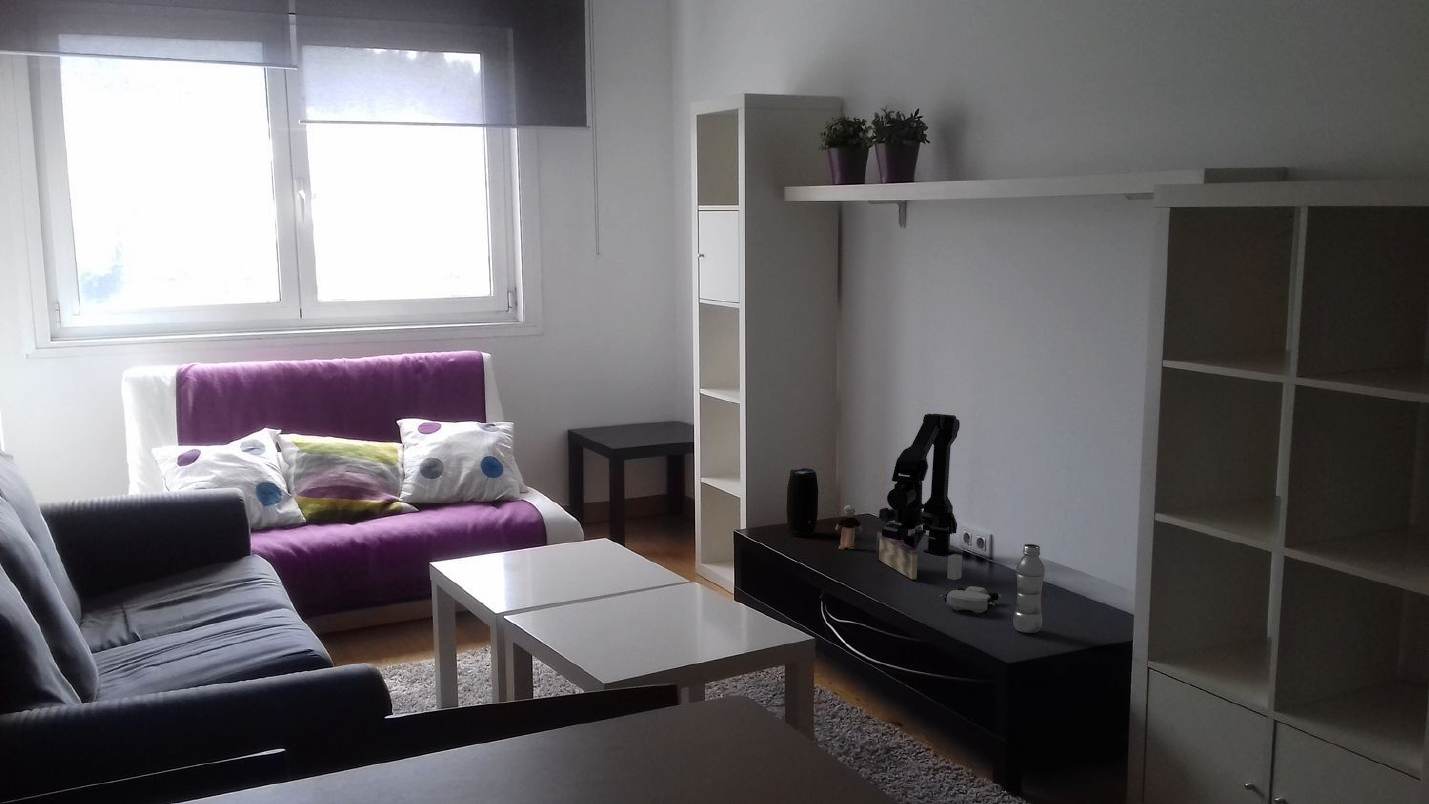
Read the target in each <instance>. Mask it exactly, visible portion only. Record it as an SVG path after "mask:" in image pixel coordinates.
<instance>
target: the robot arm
mask: <svg viewBox="0 0 1429 804" xmlns="http://www.w3.org/2000/svg"><path fill="white" fill-rule="evenodd" d="M960 425H961V424H960V419H958V418H957V415H953V414H943V413H927V414H924V416H923V418H922V423H921V425H920V428H919V430H918V432H917V433H916V436H915V438H914V439H913V441H912V443H911V445H910V446H908V447H906V448H905V449H903V450H902V451H901V453H900V455H899V457H897V458H896V461H895V465H894V469H893V473H892V478H891V482H894V485H893V487H894V488H892V489H890V491H888V494H887V496H886V502H887V504H888V505H889V507H890V508H889V507H885V508H884V507H883V508H880V509H879V512H878V518H879V520H881V522H882V521H883V523H884V524H887V523H888V522H893V521H894V523H889V524H887V525H884V526H883V527H882V528H881V531H882V536H883V537H887V538H891V539H895V540H899V541H902V542H903V543H905V544H907V545H909V546H910V547H912V548H914V549H916V550H917V548H918V547H919V544H920V542H921V541H922V539H923V537H924V535H925V534H927V531H928V536H927V537H928V538H927V548H925V549H923V550H922V551H923V552H924V551H925V552H924V553H928V552H929V554H932V553H933V555H937V556H944V555H945V556H946V555H948V554H951V552H952V553H954V552H955V549H950V546H951V535H953V534H957V529H958V522H957V519H956V517H955V515H954V512H953V511H954V509H953V508H954V507H953V504H952V503H951V500H950V499H949V497H948V496H949V493H948V492H949V477H950V463H951V446H952V445H953V443H954V442H955V440H956V439H957V437H958V432H959V431H960ZM932 446H933V450H932V451H933V452H932V453H933V454H932V467H931V468H932V469H931V470H932V471H931V486H930V487H931V488H930V497H929V498H928V500H927V501H926V502H924V503H923V482H924V481H925V478H926V476H927V473H928V469H929V463H928V458H927V457H928V455H929V452H930V450H931V448H932ZM895 482H896V483H895Z"/></svg>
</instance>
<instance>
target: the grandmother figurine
mask: <svg viewBox="0 0 1429 804" xmlns="http://www.w3.org/2000/svg"><path fill="white" fill-rule="evenodd" d="M843 512H844V515H845V516H843V517H842V518H840V519H839V521H837V524H836V525H835V526H836V527H835V528H834V529H835V530H836V531H838V530H840V527H841V526H842V528H841V534H840V535H841V536H840V545H839V546H838V549H839V550H845V549H846V548H848V549H847V550H849V549H854V550H855V547H854V545H855V537H856V535H855V533H856V532H855V530H856V529H855V527H857V528H858V531H860V532H862V531H863V527H862V523H861V521H859V520H858V519H857V518H855V517H854V515H855V514H856V510H855V508H854V507H853V506H852V505H845V506H844V508H843Z"/></svg>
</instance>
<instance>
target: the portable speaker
mask: <svg viewBox="0 0 1429 804" xmlns="http://www.w3.org/2000/svg"><path fill="white" fill-rule="evenodd" d="M787 483H788V484H787V487H786V509H785V511H786V523H787V530H788V531H787V532H788V533H789V534H790V536H791V537H796V538H797V537H798V538H802V536H804V535H809V536H810V537H813V536H815V533H816V532H815V531H816V527H817V521H818V516H819V515H818V514H819V513H818V512H819V484H818V476H817V472H816V471H815V470H814V469H812V468H808V467H802V468H800V469H799V468H798V469H790V470H789V477H788V482H787Z"/></svg>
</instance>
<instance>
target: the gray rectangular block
mask: <svg viewBox="0 0 1429 804" xmlns="http://www.w3.org/2000/svg"><path fill="white" fill-rule="evenodd" d="M962 567H963V555H960V554H957V553H956V554H955V553H953V554H951V555H948V556H947V571H946V572H947V575H946V576H947V577H946V579H949V580H953V581H957V580H959V579H962V574H963V573H962V571H963V569H962Z"/></svg>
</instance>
